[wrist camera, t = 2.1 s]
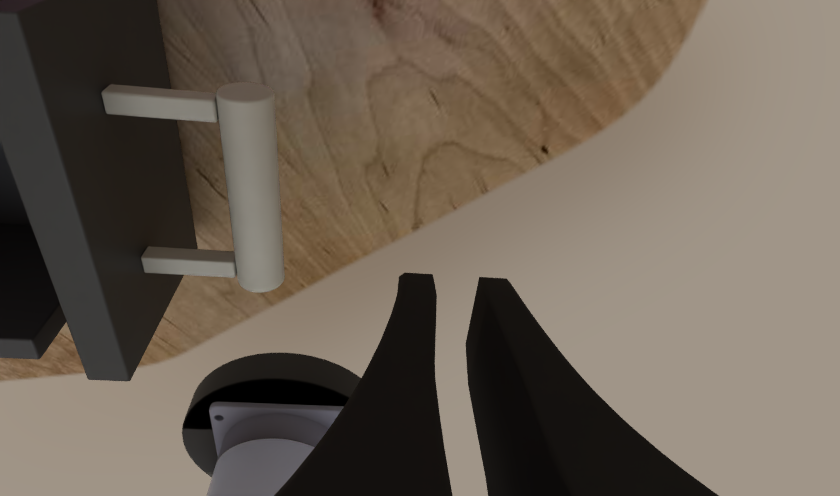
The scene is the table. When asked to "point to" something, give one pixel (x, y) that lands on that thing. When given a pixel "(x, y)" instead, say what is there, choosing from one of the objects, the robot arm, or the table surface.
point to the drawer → (115, 181)
